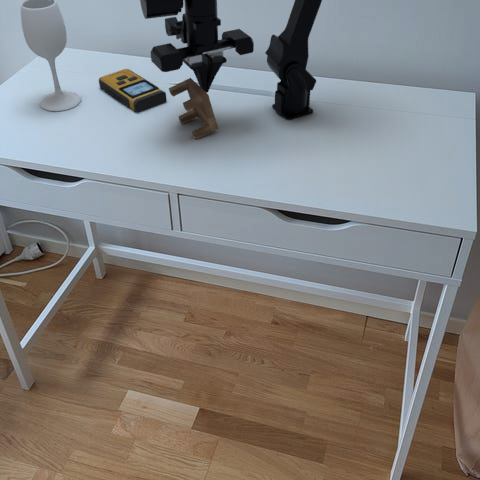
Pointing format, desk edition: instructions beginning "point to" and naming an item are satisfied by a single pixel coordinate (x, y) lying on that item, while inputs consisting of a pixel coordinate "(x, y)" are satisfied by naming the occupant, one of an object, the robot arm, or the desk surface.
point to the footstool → (196, 107)
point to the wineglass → (47, 46)
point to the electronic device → (132, 90)
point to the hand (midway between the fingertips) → (204, 92)
